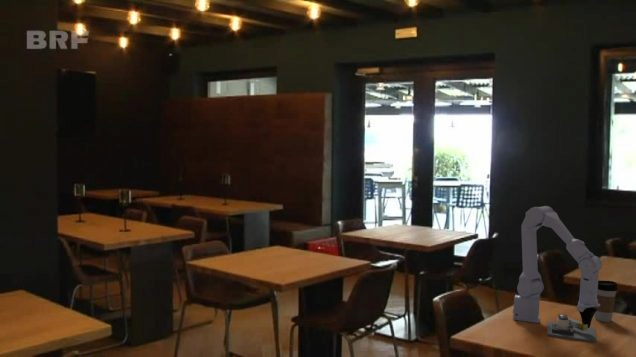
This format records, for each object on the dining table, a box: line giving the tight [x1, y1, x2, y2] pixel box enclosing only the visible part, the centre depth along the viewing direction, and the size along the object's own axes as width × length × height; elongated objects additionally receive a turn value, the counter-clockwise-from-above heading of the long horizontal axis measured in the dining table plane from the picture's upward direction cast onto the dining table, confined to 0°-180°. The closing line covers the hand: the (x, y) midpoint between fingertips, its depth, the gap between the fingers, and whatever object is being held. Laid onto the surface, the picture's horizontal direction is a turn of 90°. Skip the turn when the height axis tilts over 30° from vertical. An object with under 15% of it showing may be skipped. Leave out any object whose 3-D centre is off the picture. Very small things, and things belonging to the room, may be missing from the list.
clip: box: [557, 313, 588, 331], centre depth 222 cm, size 12×3×2 cm, turn 24°
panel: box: [546, 320, 598, 344], centre depth 221 cm, size 16×16×2 cm
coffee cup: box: [594, 280, 618, 323], centre depth 238 cm, size 8×8×15 cm
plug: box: [555, 315, 570, 331], centre depth 220 cm, size 5×5×5 cm
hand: (586, 327), depth 219 cm, fingers closed
